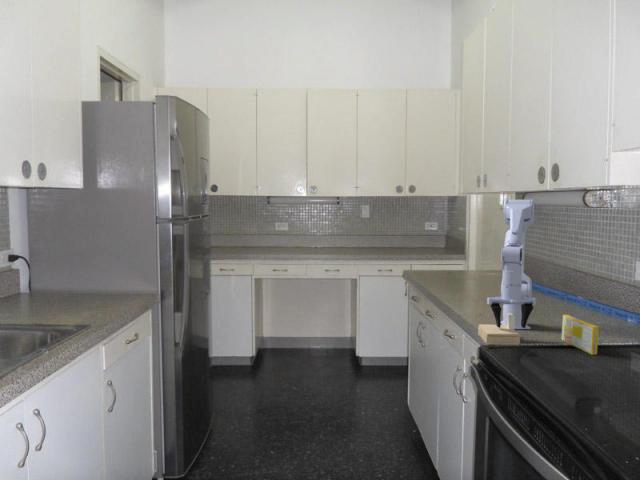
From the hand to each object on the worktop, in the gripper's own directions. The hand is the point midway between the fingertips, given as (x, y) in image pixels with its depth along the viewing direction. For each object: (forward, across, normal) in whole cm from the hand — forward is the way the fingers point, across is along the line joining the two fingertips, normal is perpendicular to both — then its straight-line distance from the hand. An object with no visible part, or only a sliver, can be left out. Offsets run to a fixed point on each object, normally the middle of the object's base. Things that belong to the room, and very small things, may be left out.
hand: (510, 326), depth 173 cm
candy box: (+4, +18, -7) cm, 20 cm away
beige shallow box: (+4, -4, 0) cm, 6 cm away
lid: (+1, -4, 0) cm, 4 cm away
